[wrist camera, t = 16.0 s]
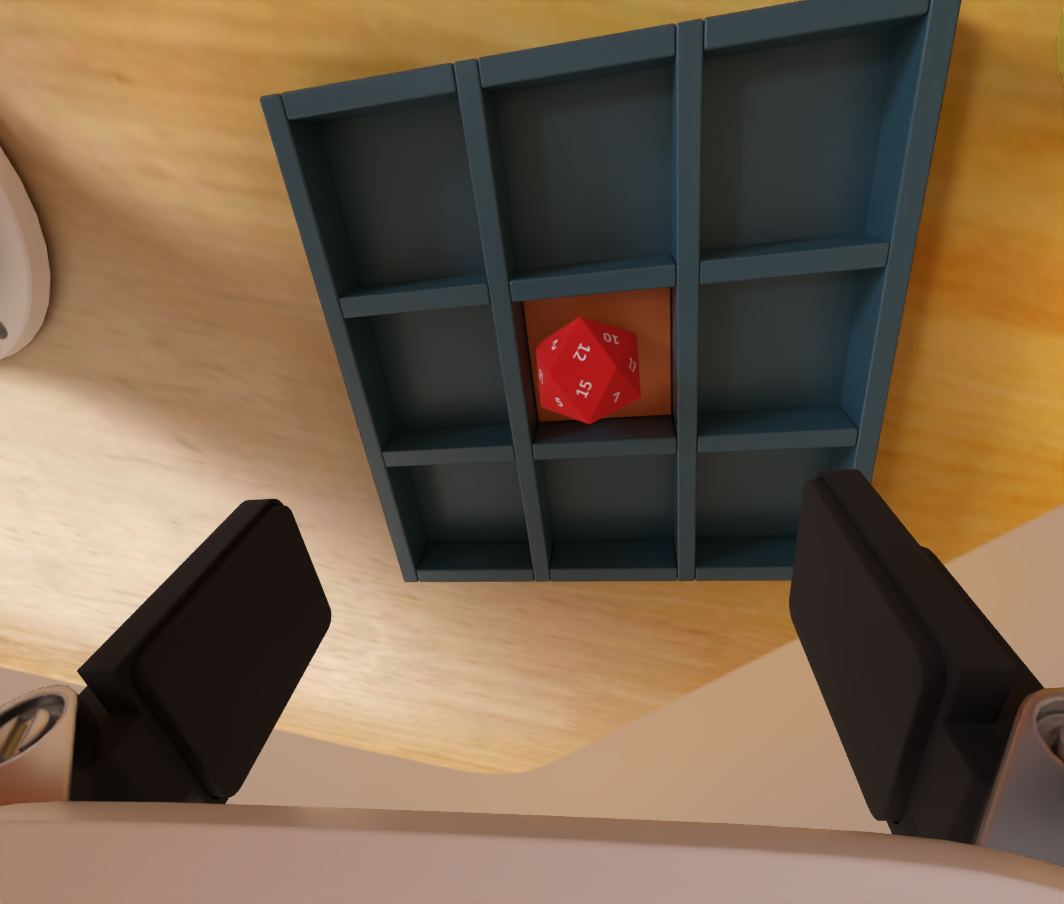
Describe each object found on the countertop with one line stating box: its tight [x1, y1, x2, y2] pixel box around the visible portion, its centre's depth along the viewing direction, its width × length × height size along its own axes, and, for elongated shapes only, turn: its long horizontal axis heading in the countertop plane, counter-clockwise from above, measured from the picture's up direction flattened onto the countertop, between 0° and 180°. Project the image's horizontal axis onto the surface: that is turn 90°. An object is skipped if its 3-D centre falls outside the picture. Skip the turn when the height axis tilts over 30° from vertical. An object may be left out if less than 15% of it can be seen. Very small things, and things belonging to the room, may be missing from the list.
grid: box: [260, 0, 961, 582], centre depth 20 cm, size 18×18×2 cm
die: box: [535, 317, 641, 424], centre depth 19 cm, size 4×4×4 cm
